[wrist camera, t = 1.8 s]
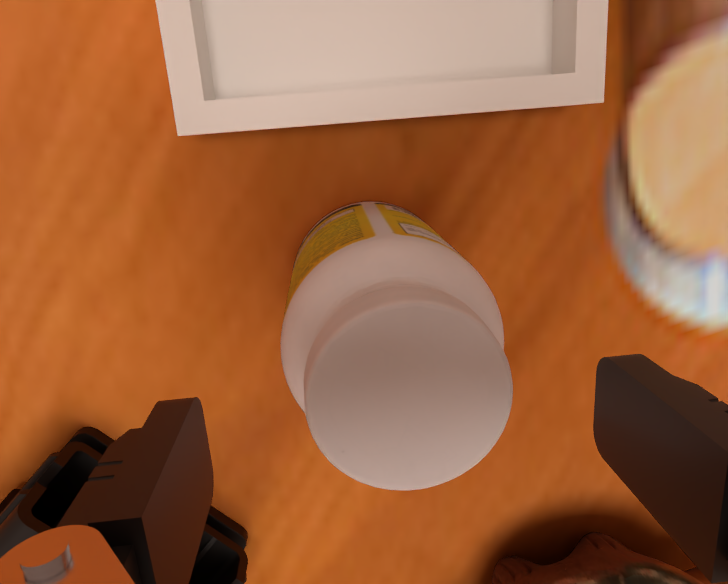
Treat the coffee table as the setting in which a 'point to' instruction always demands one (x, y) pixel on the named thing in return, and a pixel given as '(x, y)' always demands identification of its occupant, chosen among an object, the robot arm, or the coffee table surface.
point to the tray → (375, 59)
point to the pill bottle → (394, 349)
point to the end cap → (64, 481)
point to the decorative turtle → (596, 567)
